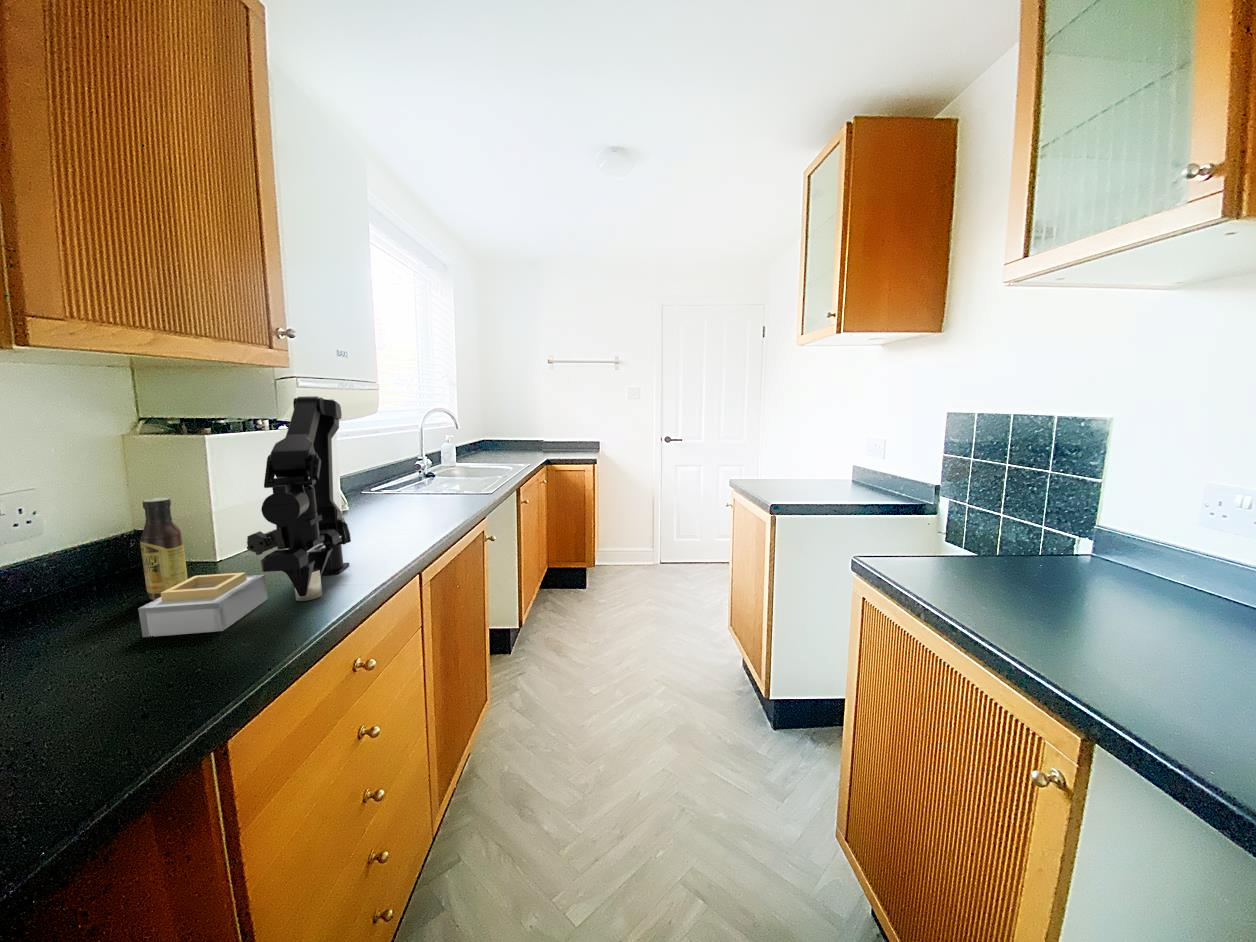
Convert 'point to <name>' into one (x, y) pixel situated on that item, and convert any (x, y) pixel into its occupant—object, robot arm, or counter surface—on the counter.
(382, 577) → the counter surface
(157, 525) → the sauce bottle
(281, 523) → the robot arm
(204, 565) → the counter surface
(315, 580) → the silver metal can
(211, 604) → the square frame box
